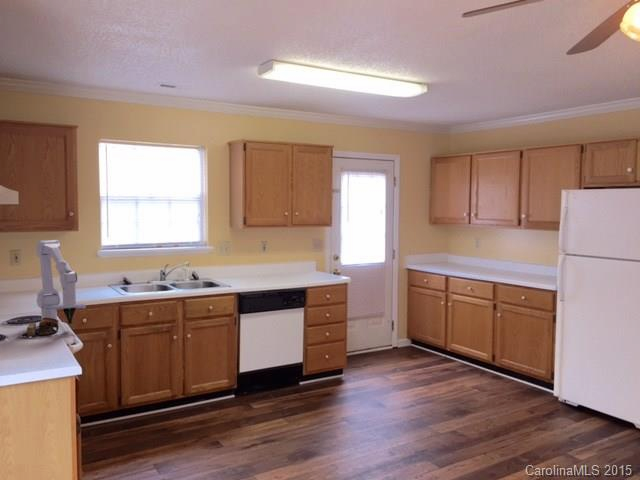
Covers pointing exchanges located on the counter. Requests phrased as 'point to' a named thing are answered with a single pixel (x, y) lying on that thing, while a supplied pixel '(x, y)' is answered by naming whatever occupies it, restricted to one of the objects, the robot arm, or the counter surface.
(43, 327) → the pottery mug
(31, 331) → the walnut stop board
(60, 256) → the robot arm
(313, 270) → the counter surface
